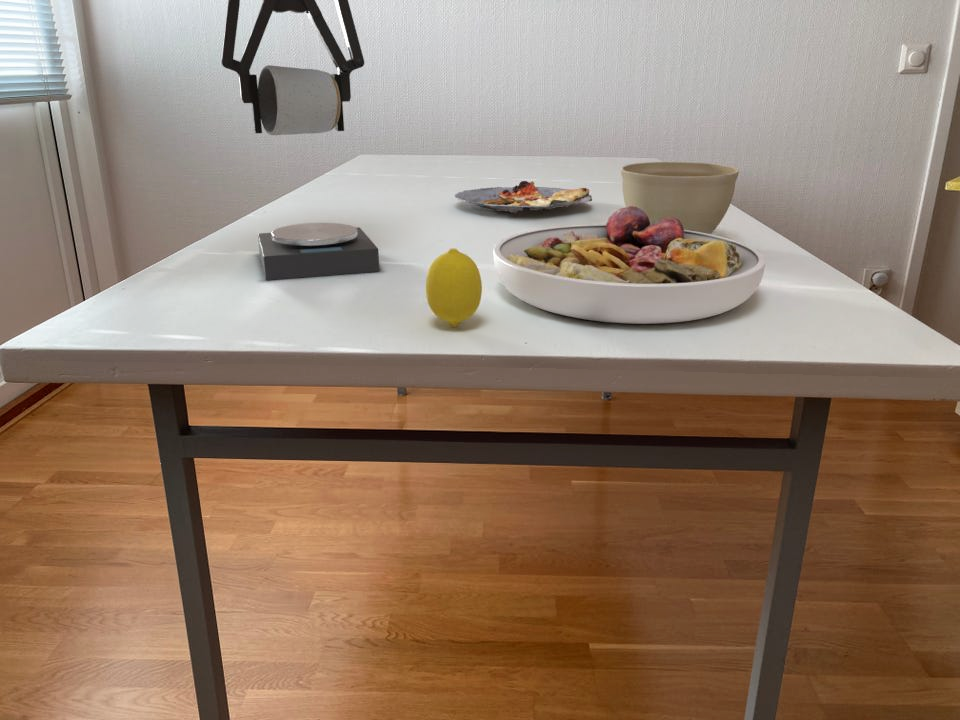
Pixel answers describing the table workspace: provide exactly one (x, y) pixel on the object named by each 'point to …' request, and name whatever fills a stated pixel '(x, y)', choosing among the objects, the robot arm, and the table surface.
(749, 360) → the table surface
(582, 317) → the bowl
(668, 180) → the planter bowl
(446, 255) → the lemon
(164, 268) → the table surface
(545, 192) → the food plate
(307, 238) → the scale pan
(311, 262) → the scale
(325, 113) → the ceramic mug
